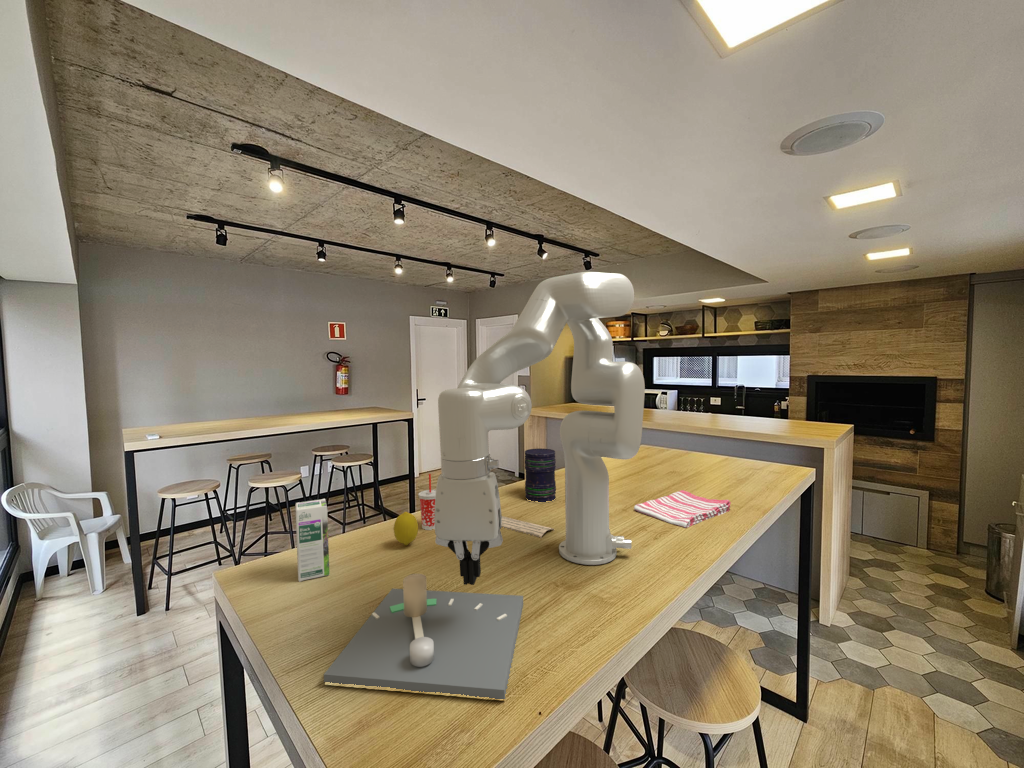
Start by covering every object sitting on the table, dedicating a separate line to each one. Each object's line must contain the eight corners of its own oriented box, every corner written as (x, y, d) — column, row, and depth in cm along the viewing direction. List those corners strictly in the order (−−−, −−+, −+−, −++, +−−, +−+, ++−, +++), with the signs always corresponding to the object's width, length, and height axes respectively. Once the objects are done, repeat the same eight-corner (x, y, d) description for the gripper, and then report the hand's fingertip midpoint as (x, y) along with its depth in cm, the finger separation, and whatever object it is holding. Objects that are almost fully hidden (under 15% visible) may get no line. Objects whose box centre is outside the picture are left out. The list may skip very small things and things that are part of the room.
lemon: (412, 551, 97) (411, 516, 97) (389, 549, 98) (389, 515, 98) (422, 541, 103) (421, 508, 102) (400, 539, 104) (400, 507, 103)
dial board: (523, 604, 75) (523, 594, 75) (504, 701, 53) (504, 688, 53) (392, 596, 78) (392, 587, 78) (324, 685, 56) (323, 672, 56)
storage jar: (526, 493, 141) (526, 448, 140) (556, 494, 140) (556, 448, 139) (523, 502, 131) (522, 454, 131) (555, 503, 130) (554, 454, 129)
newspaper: (469, 521, 118) (469, 515, 118) (486, 514, 123) (485, 508, 123) (541, 541, 104) (541, 533, 104) (556, 531, 109) (556, 524, 109)
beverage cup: (421, 532, 108) (420, 478, 108) (416, 524, 114) (415, 472, 113) (445, 528, 111) (444, 475, 110) (439, 521, 116) (438, 470, 116)
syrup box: (298, 582, 84) (295, 509, 83) (297, 570, 89) (295, 501, 88) (329, 575, 86) (327, 504, 86) (327, 564, 91) (325, 497, 91)
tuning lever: (436, 663, 57) (435, 618, 57) (409, 669, 56) (408, 624, 56) (425, 604, 72) (424, 569, 72) (403, 608, 71) (402, 572, 70)
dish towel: (733, 511, 122) (733, 499, 122) (686, 530, 108) (686, 517, 108) (679, 497, 136) (679, 486, 135) (631, 512, 122) (631, 500, 122)
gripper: (515, 460, 70) (520, 570, 71) (427, 461, 72) (433, 567, 73) (509, 473, 62) (514, 595, 63) (411, 473, 64) (417, 591, 65)
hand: (470, 580), depth 68 cm, fingers closed
